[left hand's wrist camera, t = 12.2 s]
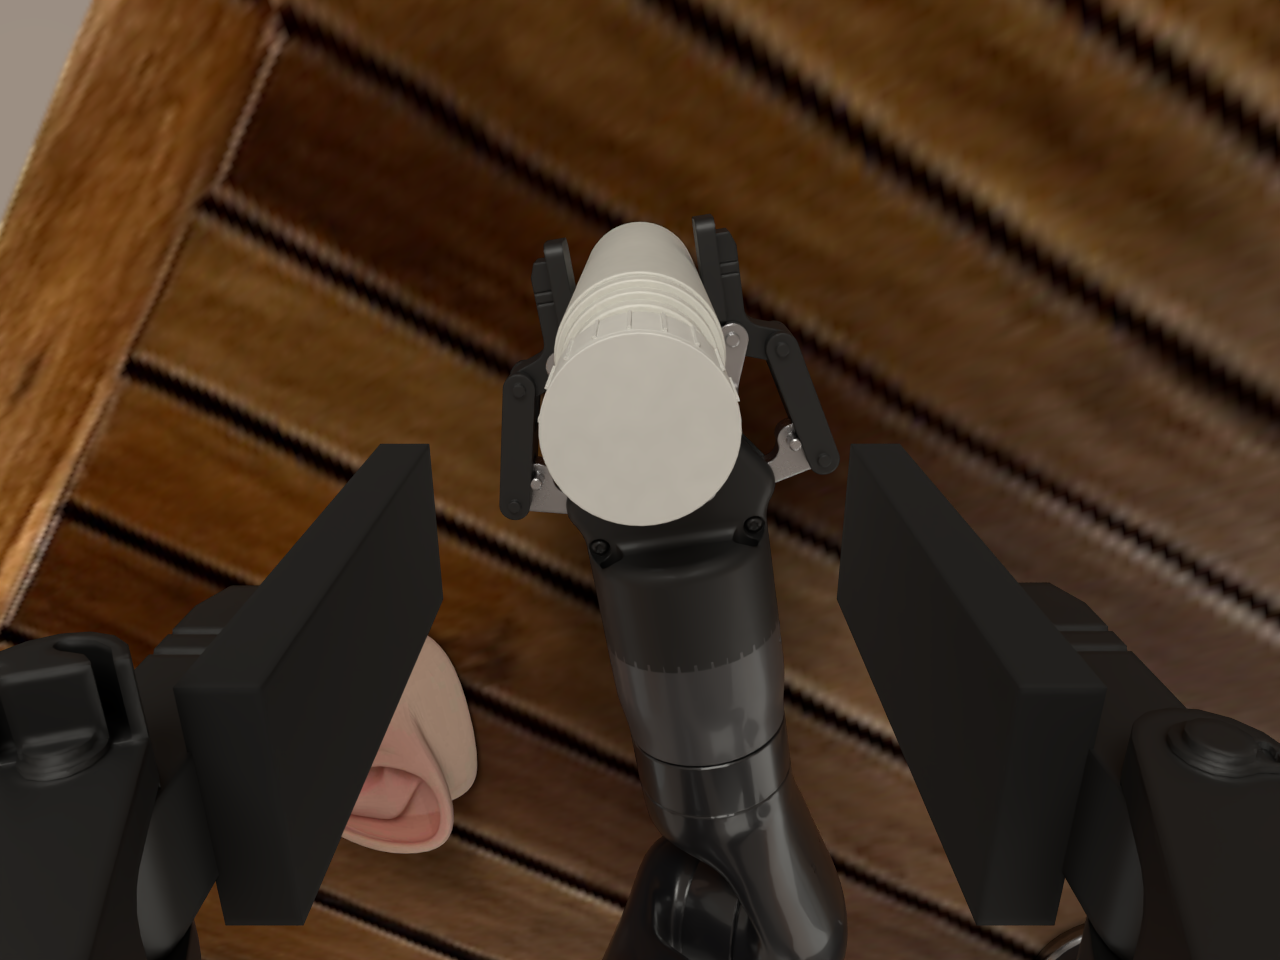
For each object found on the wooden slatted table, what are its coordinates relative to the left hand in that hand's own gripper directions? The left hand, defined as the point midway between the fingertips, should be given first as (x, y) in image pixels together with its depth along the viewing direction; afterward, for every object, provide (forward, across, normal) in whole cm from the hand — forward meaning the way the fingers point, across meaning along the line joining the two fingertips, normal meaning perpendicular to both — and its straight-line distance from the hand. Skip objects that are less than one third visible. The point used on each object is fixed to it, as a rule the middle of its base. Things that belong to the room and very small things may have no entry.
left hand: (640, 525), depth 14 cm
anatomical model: (+27, +14, +22) cm, 38 cm away
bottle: (+27, 0, 0) cm, 27 cm away
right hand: (+21, 0, -3) cm, 21 cm away
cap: (+5, 0, 0) cm, 5 cm away
